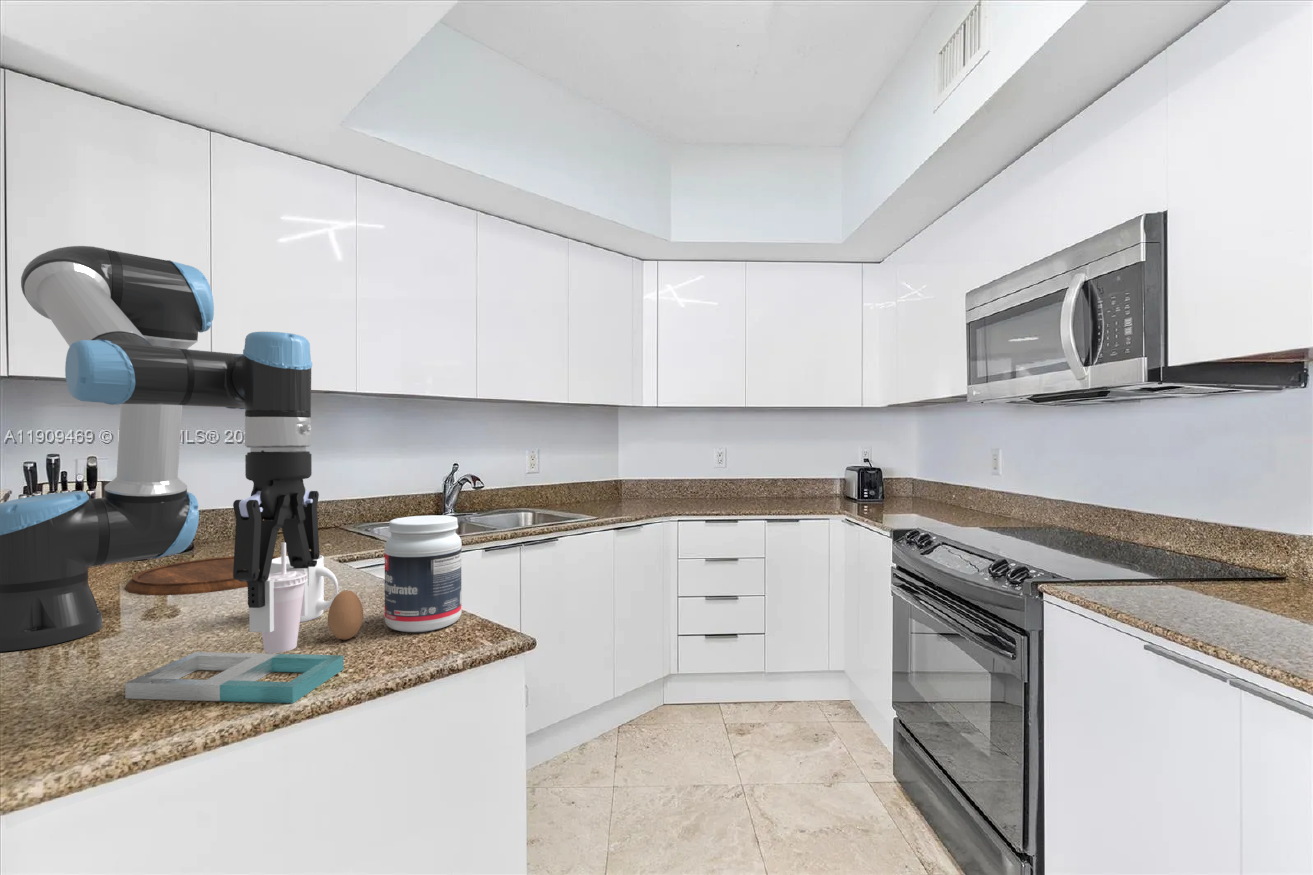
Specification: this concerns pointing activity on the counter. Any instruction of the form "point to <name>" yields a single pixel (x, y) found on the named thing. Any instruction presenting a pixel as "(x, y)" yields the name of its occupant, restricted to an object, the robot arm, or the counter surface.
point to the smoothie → (285, 608)
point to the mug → (312, 586)
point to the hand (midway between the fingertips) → (280, 622)
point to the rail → (235, 677)
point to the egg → (345, 615)
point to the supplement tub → (422, 573)
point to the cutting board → (187, 578)
